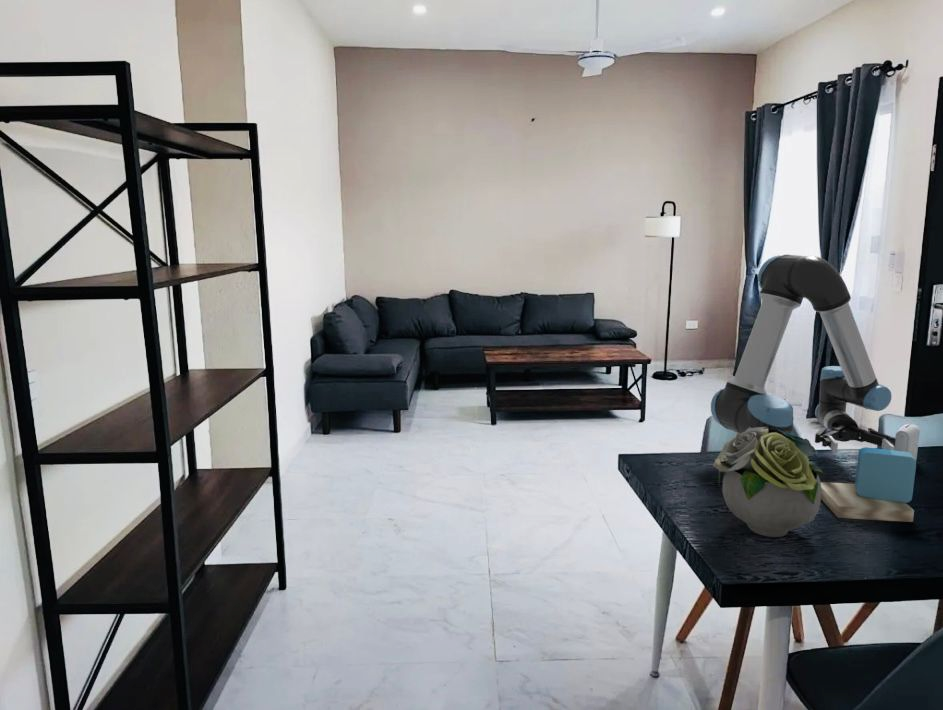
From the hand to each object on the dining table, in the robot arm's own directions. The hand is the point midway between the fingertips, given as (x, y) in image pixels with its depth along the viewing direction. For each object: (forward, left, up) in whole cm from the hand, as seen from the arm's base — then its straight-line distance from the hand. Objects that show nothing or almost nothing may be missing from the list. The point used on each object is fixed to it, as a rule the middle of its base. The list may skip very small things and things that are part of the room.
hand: (863, 449), depth 181 cm
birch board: (-3, -11, -12) cm, 16 cm away
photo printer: (+22, +25, -12) cm, 36 cm away
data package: (+1, -11, -9) cm, 14 cm away
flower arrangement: (-31, -29, -12) cm, 44 cm away
